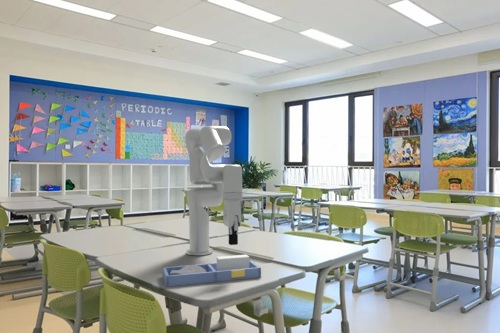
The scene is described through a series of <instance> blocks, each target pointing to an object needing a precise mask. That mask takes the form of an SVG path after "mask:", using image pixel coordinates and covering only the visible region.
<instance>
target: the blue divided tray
mask: <svg viewBox="0 0 500 333" xmlns="http://www.w3.org/2000/svg"><path fill="white" fill-rule="evenodd" d="M188 265H189V264H187V265H176V266H166V267H165V266H164V267H162V279H163V280H164V284H165V286H166V287H177V286H186V285H195V284H196V285H197V284H204V283H205V284H206V283H214V282H215V283H216V282H225V281H235V280H236V281H237V280H244V279H255V278H262V268H261V266H259V265H258V264H256V263H255V262H254V261H252V260H251V259H249V268H245V269H234V270H224V271H217V262H213V263H212V262H210V263H198V264H196V265H197V266H200V267H202V268H204V269H205V270H206V272H202V273H191V274H181V275H170V272H171V271H172V270H180V269H182V268H183V267H186V266H188ZM169 275H170V276H169Z"/></svg>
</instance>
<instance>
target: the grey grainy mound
mask: <svg viewBox="0 0 500 333" xmlns="http://www.w3.org/2000/svg"><path fill="white" fill-rule="evenodd" d="M187 265H188V266H186V265H185V266H186V267H183V268H182V269H180V270H172V271H171V272H170V275H181V274H191V273H202V272H206V270H205V269H204V268H202V267H200V266H197V264H187ZM170 275H169V276H170Z"/></svg>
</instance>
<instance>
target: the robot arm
mask: <svg viewBox="0 0 500 333" xmlns="http://www.w3.org/2000/svg"><path fill="white" fill-rule="evenodd" d="M184 136H185V137H184V141H185V142H184V143H185V148H186V151H187V154H188V158H189V160H188V162H189V163H188V164H189V181H190V183H191V184H192V185H195V186H204V185H210V186H211V187H210V186H209V187H205V186H204V187H193V188H191V189H189V190H188V191H187V193H186V199H187V205H188V217H189V219H188V220H189V221H188V224H189V226H188V227H189V230H188V231H189V234H188V235H189V239H188V240H189V241H188V242H189V249H187V250H186V251H185V252H186V253H185V254H187V255H189V256H198V257H199V256H207V255H210V254H212V253H213V249H212V248H210V216H209V214H208V212H207V211H206V210H205V208H212V207H220V206H221V205H222V204H223V221H222V223H223V225H224V226H226V227H227V228H228V229H227V230H228V245H229V246H235V245H237V246H238V244H239V238H238V236H239V228H240V227H241V226H242V204H241V202H242V201H243V168H242V166H241V165H240V164H211V163H212V162H214V161H217V160H218V159H221V158H222V157H223V156H224V155H225V152H226V146H228V145H229V144H231V142H232V132H231V130H230V128H228V127H227V126H225V125H224V126H222V125H221V126H220V125H206V126H205V125H204V126H203V127H202V128H191V129H189V130H187V131H186V132H185V135H184ZM202 147H203V148H202ZM223 202H224V203H223Z"/></svg>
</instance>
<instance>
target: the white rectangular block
mask: <svg viewBox="0 0 500 333" xmlns="http://www.w3.org/2000/svg"><path fill="white" fill-rule="evenodd" d="M249 260H250V256H249V255H248V254H237V255H235V254H233V255H224V256H216V263H217V271H224V270H234V269H245V268H249Z"/></svg>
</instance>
